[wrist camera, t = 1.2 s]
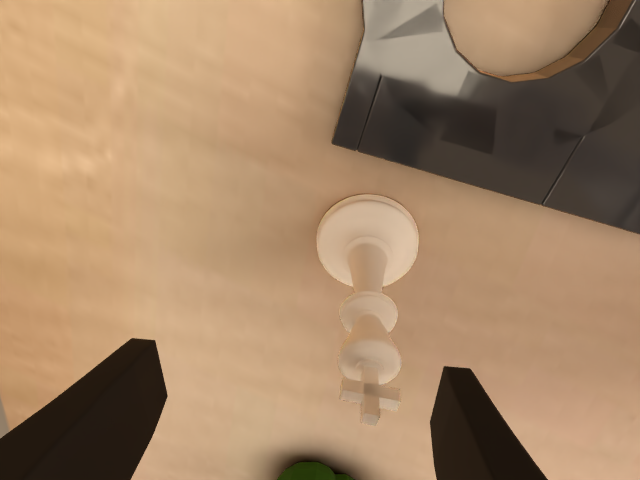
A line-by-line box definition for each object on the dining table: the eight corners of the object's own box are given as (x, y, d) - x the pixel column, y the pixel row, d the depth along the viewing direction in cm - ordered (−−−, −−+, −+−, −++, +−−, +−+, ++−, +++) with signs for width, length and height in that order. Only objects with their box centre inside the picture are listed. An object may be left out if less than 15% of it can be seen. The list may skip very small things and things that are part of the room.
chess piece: (327, 183, 19) (295, 335, 10) (432, 206, 19) (494, 376, 10) (308, 271, 21) (270, 454, 12) (402, 291, 21) (429, 487, 12)
